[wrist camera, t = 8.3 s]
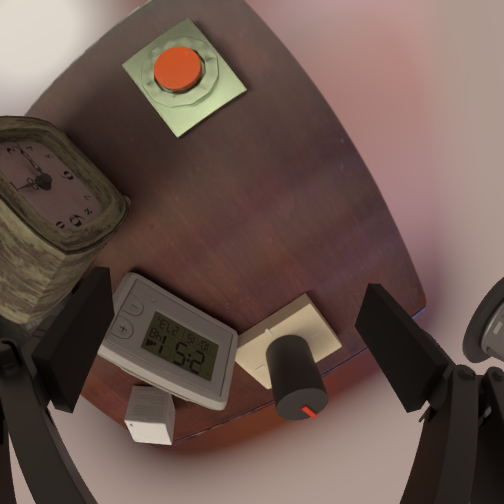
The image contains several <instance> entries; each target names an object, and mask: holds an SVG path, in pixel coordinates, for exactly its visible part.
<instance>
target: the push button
mask: <svg viewBox="0 0 504 504" xmlns="http://www.w3.org/2000/svg"><path fill="white" fill-rule="evenodd" d="M201 73H202V65H201V62H200V59H199V57H198V55H197V54H196V53H195V52H194V51H193V50H192V49H190V48H187V47H182V46H178V47H173V48H170V49H168V50H166V51H164V52H163V53H162V54H161V55H160V56H159V57H158V58H157V60H156V62H155V65H154V75H155V78H156V80H157V81H158V82H159V83H160V84H161V85H162V86H163V87H165V88H166V89H168V90H171V91H184V90H187V89H189V88H191V87H192V86H194V85H195V84H196V83H197V82H198V80H199V79H200V76H201Z"/></svg>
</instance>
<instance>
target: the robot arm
mask: <svg viewBox="0 0 504 504" xmlns="http://www.w3.org/2000/svg"><path fill="white" fill-rule="evenodd" d="M114 316H115V313H114V305H113V298H112V289H111V280H110V270H109V268H106V267H95V268H94V269H93V270H92V271H91V273H90V274H89V275H88V276H87V278H86V279H85V280H84V281H83V283H82V284H81V285H80V286H79V288H78V289H77V290H76V292H75V293H74V294H73V296H72V297H71V298H70V300H69V301H68V302H67V304H66V305H65V306H64V308H63V309H62V310H61V312H60V313H59V314H58V316H55V315H49V316H48V317H47V318H45V319H44V320H42V321H41V322H40V324H39V325H38V327H37V328H36V330H35V331H34V332H33V333H32V336H30V338H29V339H28V340H27V342H26V343H25V345H24V346H23V348H22V349H21V350H20V348H19V345H18V343H17V341H15V340H14V339H11V338H2V339H0V504H17V503H16V498H15V492H14V486H13V479H12V472H11V463H10V452H9V437H8V431H9V434H10V438H11V441H12V444H13V448H14V450H15V453H16V457H17V459H18V462H19V465H20V468H21V470H22V473H23V475H24V478H25V480H26V483H27V485H28V487H29V490H30V492H31V494H32V497H33V499H34V501H35V503H36V504H98V503H97V502H96V500H95V498H94V497H93V495H92V494H91V492H90V491H89V489H88V487H87V486H86V484H85V482H84V481H83V479H82V477H81V476H80V474H79V472H78V470H77V469H76V466H75V465H74V463H73V461H72V459H71V457H70V455H69V453H68V451H67V449H66V447H65V445H64V443H63V441H62V439H61V437H60V435H59V432H58V430H57V428H56V426H55V423H54V421H53V419H52V416H51V414H50V411H49V410H48V408H47V406H48V404H49V401H50V399H51V401H52V403H53V405H54V407H55V409H58V410H61V411H65V412H69V413H73V410H74V408H75V405H76V403H77V400H78V398H79V395H80V393H81V390H82V388H83V385H84V383H85V380H86V378H87V376H88V373H89V371H90V368H91V366H92V364H93V362H94V359H95V357H96V355H97V352H98V350H99V348H100V346H101V344H102V341H103V339H104V337H105V335H106V333H107V331H108V329H109V327H110V324H111V322H112V320H113V318H114ZM355 327H356V329H357V331H358V332H359V334H360V335H361V337H362V339H363V340H364V342H365V343H366V345H367V347H368V348H369V350H370V351H371V353H372V355H373V356H374V358H375V359H376V361H377V363H378V364H379V366H380V368H381V369H382V371H383V373H384V374H385V376H386V377H387V379H388V381H389V382H390V384H391V386H392V388H393V389H394V391H395V392H396V394H397V396H398V398H399V400H400V401H401V403H402V405H403V406H404V408H405V410H406V412H407V413H408V412H412V411H416V410H419V409H421V407H422V406H423V405H424V403H425V402H426V400H427V401H428V402H429V404H430V406H429V407H428V409H427V410H426V411H425V413H424V414H423V415H422V417H421V418H420V420H419V422H421V421H422V420H423V419H424V418H425V420H424V423H423V429H422V433H421V437H420V441H419V445H418V449H417V452H416V456H415V460H414V463H413V466H412V470H411V473H410V476H409V479H408V482H407V485H406V488H405V490H404V493H403V496H402V499H401V501H400V504H469V502H470V504H504V372H503V371H502V369H500V368H498V367H490V368H488V370H487V372H486V373H485V374H484V375H476V373H475V372H474V371H473V370H472V369H471V368H470V367H468V366H466V365H461V364H460V365H456V364H455V363H454V362H453V361H452V359H451V358H450V357H449V356H448V355H447V354H446V353H445V351H444V350H443V349H442V348H441V347H440V345H439V344H438V343H436V341H435V340H434V338H433V337H432V336H431V335H430V334H428V333H427V332H426V331H424V330H423V329H421V328H420V327H419V326H418V325H417V324H416V323H415V321H413V319H412V318H411V317H410V316H409V315H408V314H407V312H406V311H405V310H404V309H403V308H402V307H401V306H400V305H399V304H398V303H397V301H396V300H395V299H394V298H393V297H392V296H391V295H390V294H389V293H388V292H387V291H386V290H385V289H384V287H383V286H382V285H381V284H368V287H367V290H366V293H365V296H364V300H363V303H362V306H361V309H360V312H359V315H358V318H357V321H356V324H355ZM479 346H480V348H481V349H482V350H483V351H484V353H486V354H488V355H490V356H492V357H494V358H497V359H499V360H501V361H503V362H504V298H503V299H502V300H501V301H500V302H499V304H498V305H497V306H496V307H495V308H494V310H493V311H492V313H491V314H490V316H489V317H488V319H487V321H486V323H485V325H484V327H483V329H482V332H481V335H480V339H479Z"/></svg>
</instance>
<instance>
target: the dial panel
mask: <svg viewBox="0 0 504 504" xmlns="http://www.w3.org/2000/svg"><path fill="white" fill-rule="evenodd" d="M287 335H296V336H300V337H302V338H303V339H305V340H306V341H307V343H308V345H309V347H310V350H311V352H312V355H313V358H314V360H315V363H316V362H318V361H319V360H321V359H323V358H324V357H326V356H327V355H329V354H331V353H332V352H334V351H335V350H337V349H339V348H340V347H342V345H341V343H340V341H339V339H338V337H337V335H336V334H335V333H334V331H333V330H332V328H331V327H330V326H329V324H328V323H327V322H326V320H325V319H324V318H323V316H322V315H321V313H320V312H319V311H318V309H317V308H316V307H315V305H314V304H313V302H312V301H311V300H310V298H309V297H308V296H307V294H306V293H304V294H303V295H301V296H300V297H298V298H297V299H295V300H294V301H292V302H291V303H289V304H288V305H286V306H285V307H283V308H282V309H280V310H278V311H277V312H275V313H274V314H272V315H271V316H269V317H268V318H266V319H264V320H263V321H261V322H260V323H258V324H256V325H255V326H253V327H252V328H250V329H248V330H247V331H245V332H244V333H242V334H240V335H239V336H238V346H237V352H236V357H235V361H236V362H237V363H238V364H239V365H240V366H241V367H242V368H244V369H245V370H246V371H247V372H248V373H249V374H250V375H252V376H253V377H254V378H255V379H256V380H257V381H258V382H260V383H261V384H262V385H263V386H264V387H266V388H267V389H270V388H271V387H272V386H271V381H270V376H269V371H268V366H267V360H266V350H267V348H268V346H269V345H270V344H271V343H272V342H273V341H274V340H276V339H278V338H280V337H282V336H287Z"/></svg>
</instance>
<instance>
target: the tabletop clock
mask: <svg viewBox="0 0 504 504" xmlns="http://www.w3.org/2000/svg"><path fill="white" fill-rule="evenodd" d="M130 204H131V202H130V199H129V197H127V196H125V195H124V196H123V195H122V194H121V193H120V191H119V190H118V189H117V188H116V187H115V186H114V184H113V183H112V182H111V181H110V180H109V179H108V178H107V177H106V176H105V175H104V174H103V173H102V172H101V171H100V170H99V168H98V167H97V166H96V165H95V164H94V163H93V162H92V161H91V160H90V159H89V158H88V157H87V156H86V155H85V154H84V153H83V152H82V151H81V150H80V149H79V148H78V147H77V146H76V145H75V144H74V143H73V142H72V141H71V140H70V139H69V138H68V137H67V135H66V134H65V133H64V132H61V131H60V130H59V129H57V128H56V127H55V126H54V125H52V124H51V123H50V122H47V121H44V120H41V119H37V118H32V117H23V116H0V314H1V315H2V316H3V317H5V318H6V319H8V320H10V321H13V322H15V323H17V324H19V323H28V322H31V321H34V320H37V319H40V318H41V317H43V316H44V315H46V314H47V313H48V312H50V311H51V310H52V309H53V308H54V307H55V306H56V305H57V304H58V303H59V302H60V301H62V300H63V299H64V298H65V297H66V296H67V295H68V294H69V293H70V292H71V290H72V289H73V287H74V286H75V285H76V283H77V282H78V281H79V279H80V278H81V276H82V275H83V274H84V272H85V271H86V270H87V268H88V267H89V266H90V264H91V263H92V262H93V260H94V259H95V258H96V256H97V255H98V254H99V253H100V251H101V250H102V249H103V247H104V246H105V245H106V244H107V242H108V241H109V240H110V239H111V238H112V236H113V235H114V234H115V233H116V231H117V230H118V228H119V227H120V226H121V224H122V223H123V222H124V220H125V219H126V217H127V214H128V211H129V206H130Z"/></svg>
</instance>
